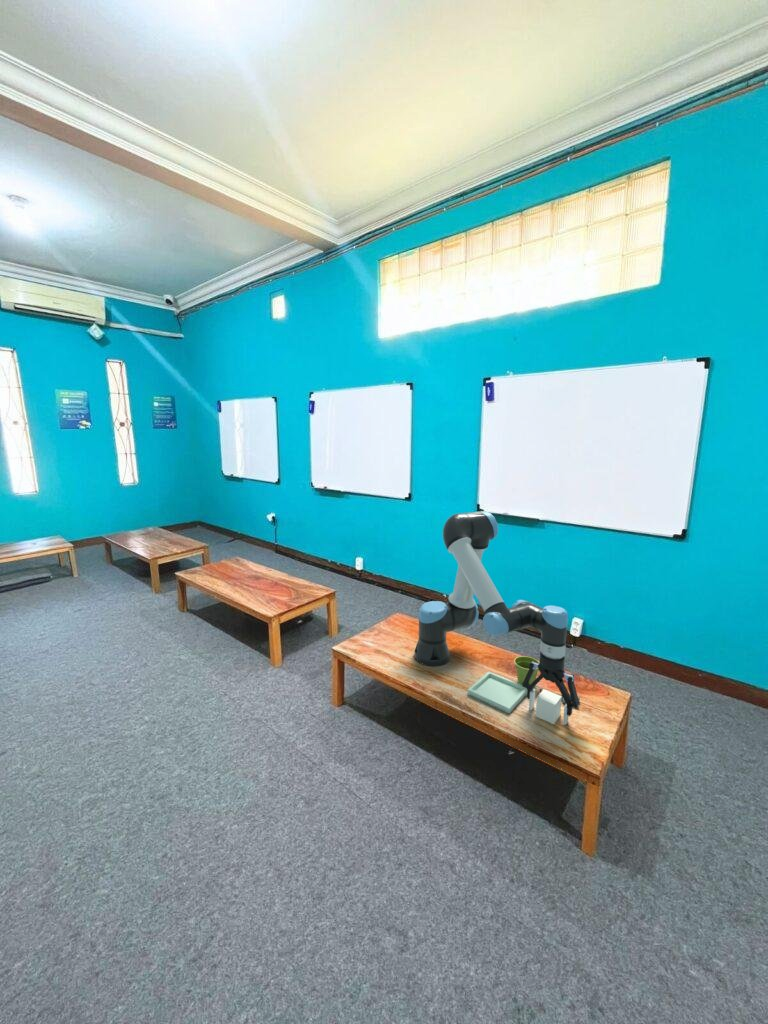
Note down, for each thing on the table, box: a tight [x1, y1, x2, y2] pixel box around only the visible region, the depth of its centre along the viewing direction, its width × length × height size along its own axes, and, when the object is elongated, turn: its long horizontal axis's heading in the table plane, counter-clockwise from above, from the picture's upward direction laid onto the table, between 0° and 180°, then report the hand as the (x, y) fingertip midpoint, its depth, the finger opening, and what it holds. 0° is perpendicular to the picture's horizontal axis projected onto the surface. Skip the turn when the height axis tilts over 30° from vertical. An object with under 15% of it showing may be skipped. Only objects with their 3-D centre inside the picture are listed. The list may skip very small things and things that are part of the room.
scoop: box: [538, 688, 580, 709], centre depth 143 cm, size 13×4×2 cm, turn 58°
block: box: [535, 688, 563, 725], centre depth 133 cm, size 6×6×7 cm
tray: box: [467, 671, 527, 715], centre depth 146 cm, size 16×16×2 cm
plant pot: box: [513, 655, 540, 685], centre depth 151 cm, size 9×9×9 cm
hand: (548, 715), depth 134 cm, fingers open, 10 cm apart
